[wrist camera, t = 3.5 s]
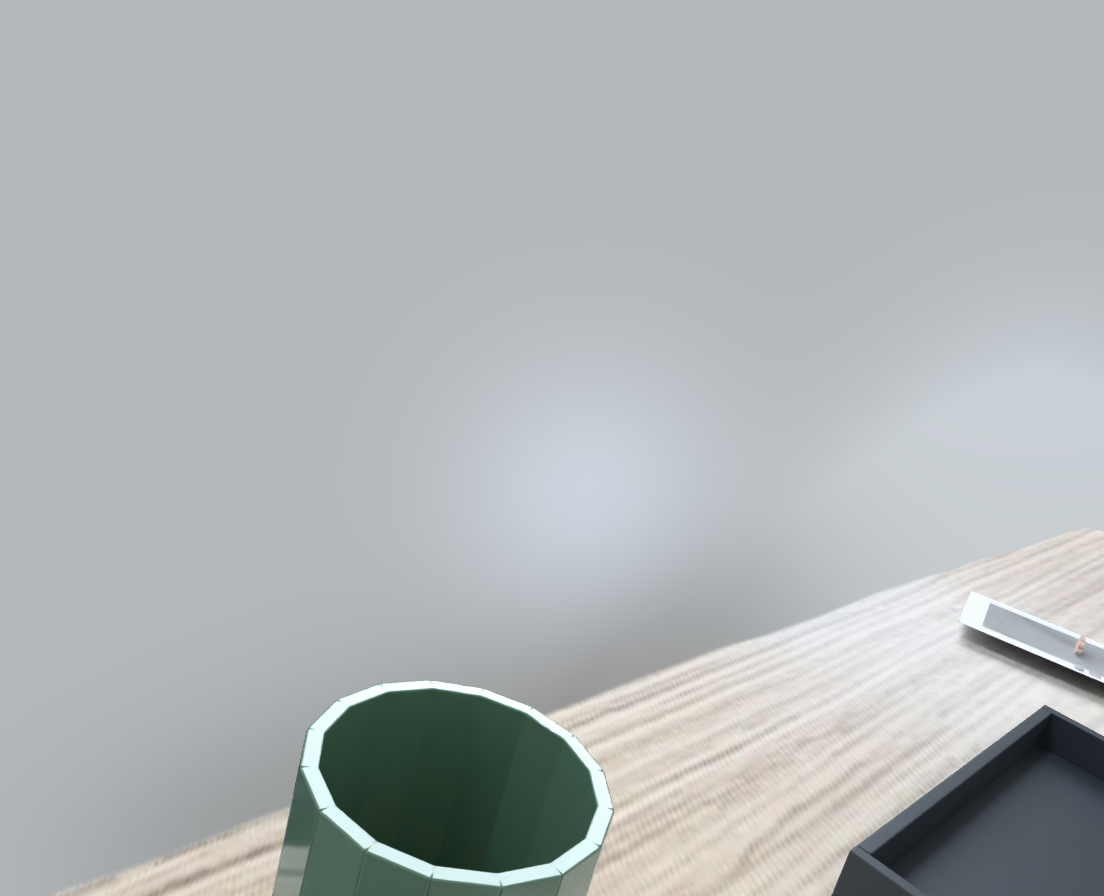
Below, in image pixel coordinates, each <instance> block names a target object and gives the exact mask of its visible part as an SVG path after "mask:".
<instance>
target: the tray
mask: <svg viewBox="0 0 1104 896" xmlns="http://www.w3.org/2000/svg"><path fill="white" fill-rule="evenodd" d="M831 896H1104V736H1102V735H1100V734H1098V733H1097V732H1095V731H1093V730H1091V729H1089V728H1087V727H1085V726H1083V725H1082V724H1080V723H1078V722H1076V721H1074V720H1072V719H1070V718H1069V717H1067V716H1065V715H1063V714H1061V713H1059V712H1057V711H1055V710H1054V709H1052V708H1050V707H1048V706H1046V705H1044V706H1043V707H1042V708H1040V709H1039V710H1038V711H1036V712H1035V713H1034V714H1032V715H1031V716H1030V717H1028V718H1027V719H1026V720H1024V721H1023V722H1022V723H1020V724H1019V725H1018V726H1016V727H1015V728H1014V729H1012V730H1011V731H1010V732H1008V733H1007V734H1006V735H1004V736H1003V737H1002V738H1000V739H999V740H998V741H996V742H995V743H994V744H992V745H991V746H990V747H988V748H987V749H986V750H984V751H983V752H982V753H980V754H979V755H978V756H976V757H975V758H974V759H972V760H971V761H970V762H968V763H967V764H966V765H964V766H963V767H962V768H960V769H959V770H958V771H956V772H955V773H954V774H952V775H951V776H950V777H948V778H947V779H945V780H944V781H943V782H941V783H940V784H939V785H937V786H936V787H935V788H933V789H932V790H931V791H929V792H928V793H927V794H925V795H924V796H923V797H921V798H920V799H919V800H917V801H916V802H915V803H913V804H912V805H911V806H909V807H908V808H907V809H905V810H904V811H903V812H901V813H900V814H899V815H897V816H896V817H895V818H893V819H892V820H891V821H889V822H888V823H887V824H885V825H884V826H883V827H881V828H880V829H879V830H877V831H876V832H875V833H873V834H872V835H871V836H869V837H868V838H867V839H865V840H864V841H863V842H861V843H860V844H859V845H857V846H856V847H855V848H853V849H852V850H851V851H850V852H849V854H848V857H847V859H846V862H845V864H844V867H843V869H842V871H841V874H840V876H839V879H838V881H837V884H836V886H835V888H834V891H833V893H832V895H831Z"/></svg>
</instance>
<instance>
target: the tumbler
mask: <svg viewBox="0 0 1104 896" xmlns="http://www.w3.org/2000/svg"><path fill="white" fill-rule="evenodd" d="M613 815H614V807H613V803H612V800H611V796H610V792H609V788H608V785H607V781H606V777H605V773H604V772H603V770H602V768H601V767H600V766H599V765H598V763H597V762H596V761H595V760H594V759H593V757H592V756H591V755H590V754H589V752H588V751H587V750H586V749H585V748H584V746H583V745H582V744H581V743H580V741H579V740H578V739H577V738H576V737H574V735H573V734H571V733H570V732H568V731H567V730H565V729H564V728H562V727H561V726H559V725H558V724H557V723H555V722H554V721H552V720H551V719H549V718H548V717H546V716H545V715H543V714H542V713H540V712H539V711H537V710H536V709H534V708H532V707H530V706H527V705H525V704H522V703H519V702H517V701H514V700H512V699H509V698H506V697H504V696H501V695H499V694H496V693H493V692H491V691H488V690H485V689H482V688H476V687H470V686H464V685H456V684H451V683H444V682H438V681H429V680H427V681H414V682H400V683H385V684H380V685H379V684H378V685H375V686H372V687H370V688H367V689H364V690H362V691H359V692H356V693H354V694H351V695H348V696H346V697H343V698H340V699H338V700H337V701H335V702H334V703H333V704H332V705H331V706H330V707H329V708H328V709H327V710H326V711H325V712H324V713H323V714H322V715H321V716H320V717H319V718H318V719H317V720H316V721H315V722H314V723H313V724H312V725H311V726H310V727H309V728H308V730H307V732H306V736H305V740H304V745H303V750H302V755H301V760H300V765H299V769H298V774H297V779H296V783H295V788H294V793H293V798H292V802H291V807H290V812H289V817H288V821H287V826H286V831H285V836H284V841H283V845H282V850H281V855H280V860H279V864H278V869H277V874H276V879H275V883H274V888H273V893H272V896H587V895H588V892H589V889H590V886H591V883H592V880H593V877H594V874H595V870H596V867H597V864H598V861H599V858H600V855H601V852H602V849H603V846H604V843H605V840H606V836H607V833H608V830H609V827H610V824H611V821H612V818H613Z"/></svg>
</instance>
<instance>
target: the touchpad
mask: <svg viewBox="0 0 1104 896" xmlns="http://www.w3.org/2000/svg"><path fill="white" fill-rule="evenodd" d="M958 622H960V623H962V624H964V625H967V626H969V627H972V628H974V629H976V630H979V631H981V632H983V633H986V634H988V635H991V636H993V637H995V638H998V639H1000V640H1003V641H1005V642H1007V643H1010V644H1012V645H1014V646H1017V647H1019V648H1022V649H1024V650H1026V651H1029V652H1031V653H1033V654H1036V655H1038V656H1041V657H1043V658H1045V659H1048V660H1050V661H1053V662H1055V663H1057V664H1060V665H1062V666H1064V667H1067V668H1069V669H1072V670H1074V671H1076V672H1078V673H1081V674H1083V675H1086V676H1088V677H1091V678H1093V679H1095V680H1098V681H1100V682H1103V683H1104V645H1103V644H1101V643H1099V642H1096V641H1094V640H1091V639H1089V638H1086V637H1084V636H1081V635H1079V634H1076V633H1074V632H1071V631H1069V630H1066V629H1064V628H1061V627H1059V626H1057V625H1054V624H1052V623H1049V622H1047V621H1044V620H1042V619H1039V618H1037V617H1034V616H1032V615H1029V614H1027V613H1024V612H1022V611H1019V610H1017V609H1015V608H1012V607H1010V606H1007V605H1005V604H1002V603H1000V602H997V601H995V600H992V599H990V598H987V597H985V596H982V595H980V594H978V593H975V592H973V591H971V594H970V596H969V598H968V600H967V603H966V605H965V607H964V609H963V612H962V614H961V616H960V618H959V621H958Z"/></svg>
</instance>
